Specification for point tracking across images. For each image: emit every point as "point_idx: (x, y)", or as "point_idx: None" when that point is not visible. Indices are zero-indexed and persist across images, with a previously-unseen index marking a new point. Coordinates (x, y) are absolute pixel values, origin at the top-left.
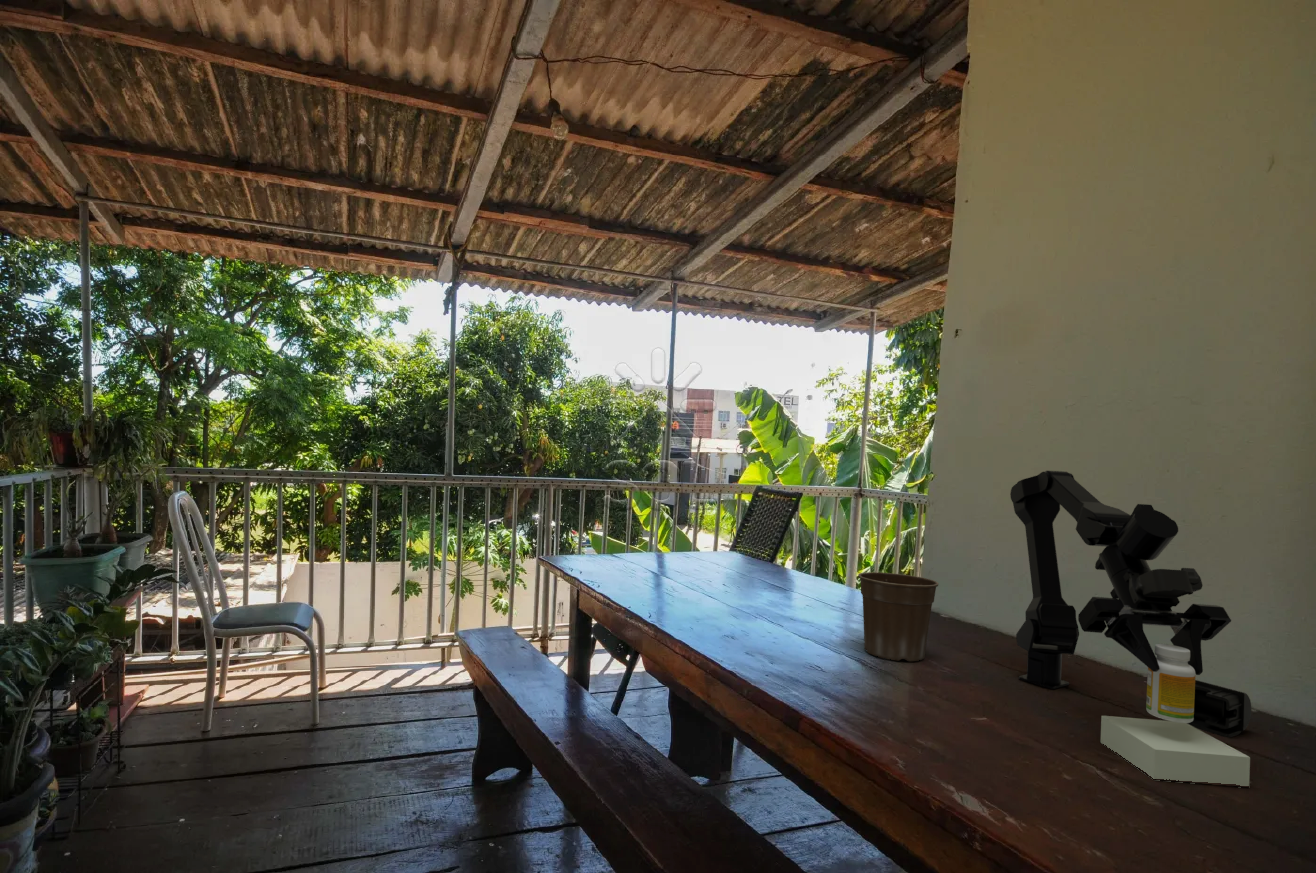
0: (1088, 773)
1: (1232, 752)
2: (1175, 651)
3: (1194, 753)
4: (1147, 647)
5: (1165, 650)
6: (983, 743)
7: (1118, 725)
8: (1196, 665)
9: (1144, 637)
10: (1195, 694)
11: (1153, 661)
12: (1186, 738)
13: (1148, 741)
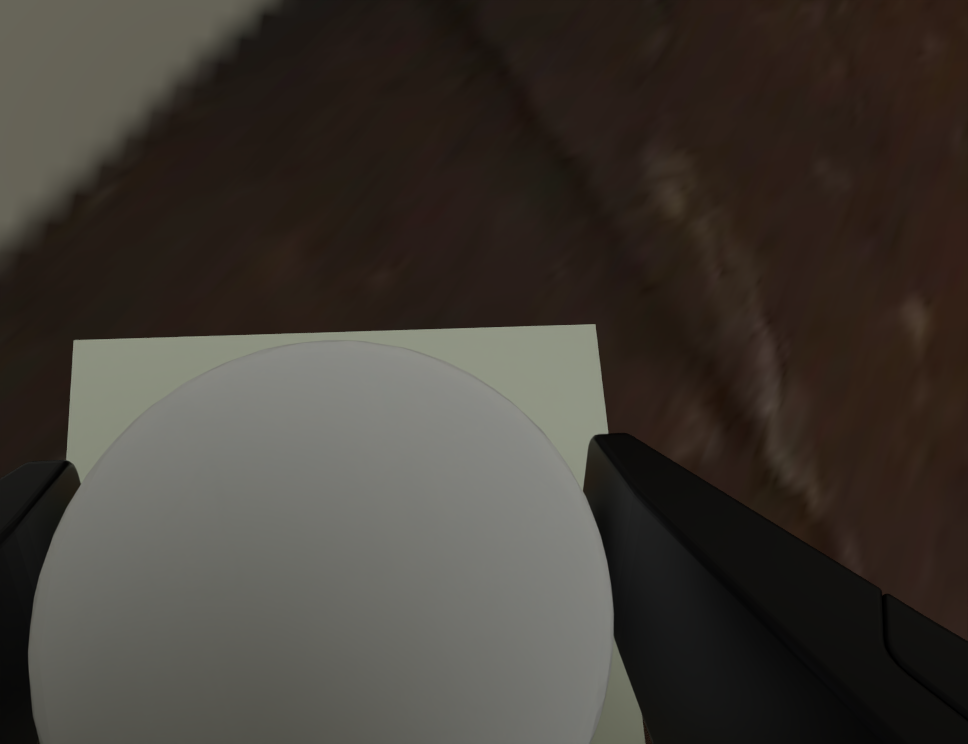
0: (818, 371)
1: (131, 393)
2: (431, 363)
3: (389, 332)
4: (783, 571)
5: (551, 442)
6: None
7: (628, 682)
8: (48, 517)
9: (899, 695)
10: None
11: (670, 460)
12: None
13: (570, 436)
